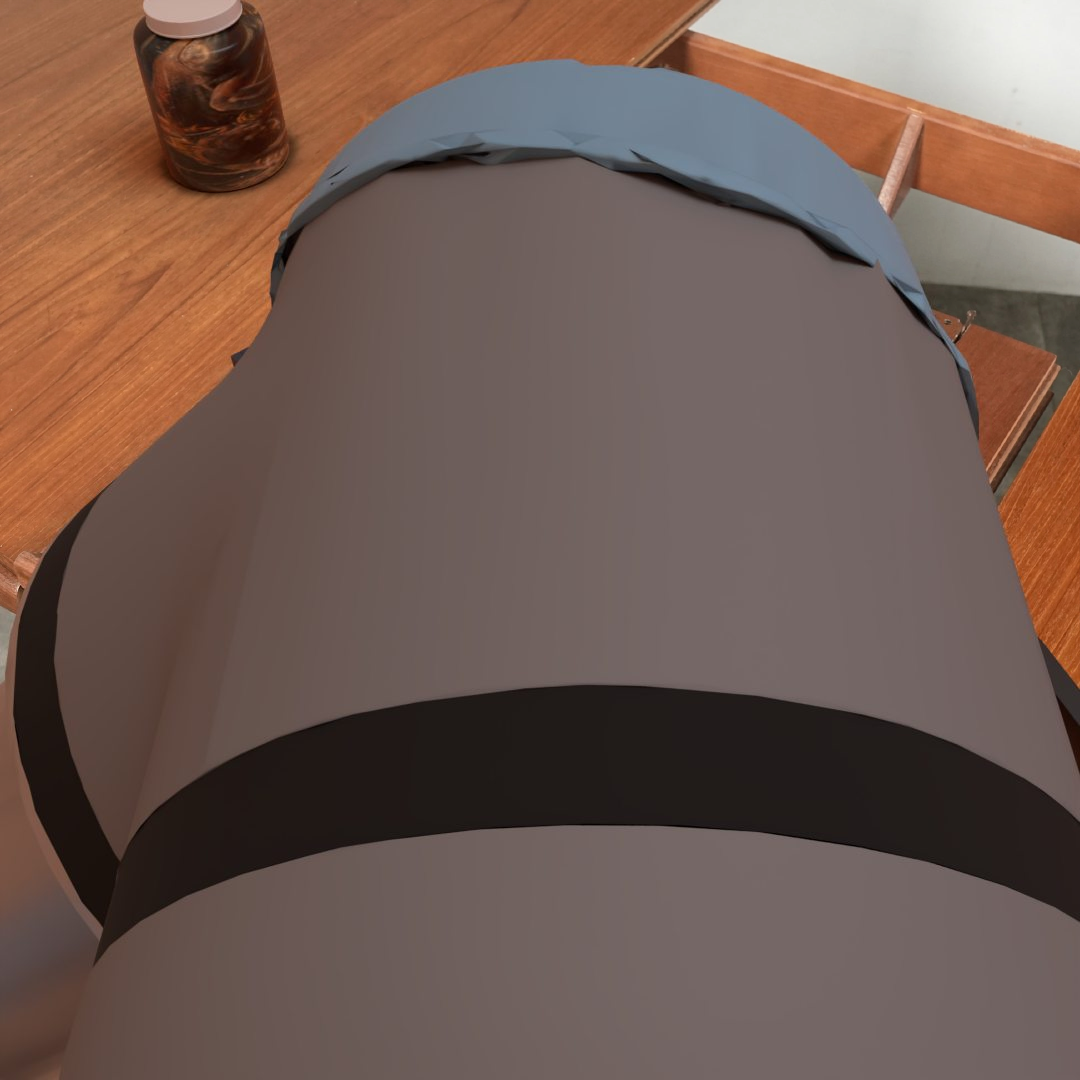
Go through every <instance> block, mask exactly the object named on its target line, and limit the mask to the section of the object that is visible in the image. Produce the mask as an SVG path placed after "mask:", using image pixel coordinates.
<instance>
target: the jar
mask: <svg viewBox="0 0 1080 1080" xmlns="http://www.w3.org/2000/svg"><path fill="white" fill-rule="evenodd" d="M142 9H143V13H144V14H143V15H144V16H142V17H141V18H140V20H139V21H138V22H137V24H136V25H135V27H134V29H133V35H132V40H133V47H134V51H135V52H134V53H135V56H136V62H137V64H138V69H139V72H140V76H141V80H142V83H143V87H144V91H145V95H146V98H147V101H148V105H149V109H150V112H151V115H152V119H153V122H154V123H153V124H154V126H155V130H156V133H157V136H158V140H159V143H160V147H161V150H162V153H163V157H164V160H165V163H166V166H167V169H168V172H169V174H170V175H171V177H172V178H173V179H174V180H175V181H176V182H177V183H179V184H180V185H182V186H183V187H187V188H189V189H192V190H195V191H201V192H210V193H211V192H212V193H213V192H215V193H218V192H220V193H221V192H229V191H237V190H241V189H245V188H248V187H251V186H254V185H257V184H260V183H261V182H263V181H265V180H267V179H269V178H270V177H272V176H273V175H275V174H276V173H277V172H278V171H280V170H281V169H282V168H283V167H284V165H285V164H286V162H287V160H288V158H289V155H290V143H289V137H288V131H287V126H286V121H285V116H284V110H283V106H282V100H281V95H280V91H279V86H278V81H277V75H276V72H275V67H274V62H273V57H272V53H271V49H270V44H269V40H268V36H267V32H266V28H265V24H264V21H263V18H262V16H261V14H260V12H259V11H258V10H257V8H256V7H255V6H253V5H252V4H251V3H249V2H247V1H245V0H143V3H142Z"/></svg>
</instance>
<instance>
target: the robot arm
mask: <svg viewBox="0 0 1080 1080" xmlns="http://www.w3.org/2000/svg"><path fill="white" fill-rule="evenodd" d="M277 240H278V246H277V249H276V251H275V252H274V255H273V260H272V264H271V268H270V286H269V291H268V294H269V297H270V307H271V308H270V310H269V312H268V314H267V316H266V318H265V320H264V322H263V324H262V326H261V327H260V329H259V331H258V332H257V334H256V335H255V337H254V339H253V340H252V342H251V343H250V344H249V346H248V347H249V348H248V349H247V350H246V352H245V353H244V355H243V356H242V357H241V359H240V360H239V361H238V362H237V364H236V365H235V366H234V367H233V366H232V368H231V370H230V371H229V372H228V373H227V374H226V375H225V376H224V377H223V379H222V380H221V381H220V382H219V383H218V384H217V385H216V386H215V387H213V389H211V390H210V391H209V392H208V393H207V394H206V395H205V396H204V397H202V399H200V400H199V401H198V402H197V403H196V404H195V405H194V406H193V407H191V409H189V410H188V411H187V412H186V413H185V414H184V415H183V416H182V417H180V418H179V419H178V420H177V421H176V422H175V423H174V424H172V426H170V427H169V428H168V429H167V430H166V431H165V432H164V433H163V434H162V435H161V436H160V437H158V439H156V440H155V441H154V442H153V443H152V444H151V445H150V446H148V447H147V448H146V449H145V450H144V451H143V452H142V453H141V454H140V455H139V456H138V457H137V458H135V459H134V460H133V461H132V462H131V463H129V465H128V466H126V468H124V469H123V471H121V473H119V474H118V475H117V477H115V478H114V479H112V480H111V482H110V483H108V485H106V486H105V487H104V488H103V489H102V490H100V491H99V492H98V493H97V494H96V495H95V496H94V497H93V498H92V499H90V501H88V502H87V504H85V505H84V506H83V507H82V508H81V509H80V510H78V511H77V513H76V514H75V515H73V517H72V518H71V519H70V520H69V521H67V522H66V524H64V525H63V526H62V528H61V529H60V530H59V531H58V533H56V535H55V537H54V538H53V539H52V541H51V542H50V544H49V545H48V546H47V547H46V549H45V550H44V552H43V553H42V554H41V556H40V557H39V559H38V561H37V563H36V565H35V567H34V569H33V571H32V573H31V575H30V577H29V579H28V581H27V583H26V585H25V587H24V589H23V591H22V594H21V598H20V601H19V603H18V607H17V611H16V613H15V616H14V620H13V624H12V627H11V630H10V634H9V641H8V649H7V655H6V662H5V664H6V665H5V670H4V680H3V681H2V682H1V683H0V1080H1080V688H1079V686H1078V685H1077V683H1076V682H1075V681H1074V680H1073V678H1072V677H1071V676H1070V674H1068V672H1067V671H1066V669H1065V668H1064V666H1062V664H1061V663H1060V662H1059V660H1058V659H1057V658H1056V656H1055V655H1054V654H1053V653H1052V652H1051V651H1050V649H1049V648H1048V646H1047V645H1046V644H1045V642H1043V640H1042V639H1041V638H1040V637H1039V636H1038V635H1037V632H1036V628H1035V625H1034V622H1033V619H1032V616H1031V615H1032V614H1031V611H1030V608H1029V606H1028V602H1027V598H1026V596H1025V593H1024V588H1023V586H1022V582H1021V580H1020V575H1019V573H1018V569H1017V567H1016V563H1015V560H1014V556H1013V553H1012V550H1011V547H1010V544H1009V543H1010V542H1009V540H1008V538H1007V534H1006V530H1005V527H1004V524H1003V521H1002V518H1001V515H1000V511H999V508H998V505H997V502H996V501H997V500H996V498H995V494H994V492H993V488H992V485H991V482H990V478H989V475H988V472H987V468H986V465H985V461H984V457H983V453H982V451H981V447H980V444H979V440H980V412H979V406H978V401H977V394H976V388H975V384H974V380H973V376H972V372H971V368H970V366H969V363H968V361H967V360H966V358H965V357H964V356H963V354H962V353H961V351H960V350H959V348H958V347H957V345H956V344H955V342H954V341H953V340H952V339H951V337H950V336H949V334H948V333H947V332H946V330H945V329H944V327H943V326H942V324H941V322H939V320H938V318H937V317H936V316H935V314H934V312H933V310H932V308H931V305H930V303H929V301H928V298H927V296H926V294H925V291H924V289H923V287H922V284H921V281H920V279H919V276H918V274H917V271H916V268H915V266H914V263H913V261H912V258H911V256H910V252H909V251H908V248H907V246H906V244H905V243H904V240H903V238H902V236H901V235H900V232H899V231H898V229H897V226H896V225H895V224H894V222H893V220H892V218H890V216H889V214H888V213H887V211H886V210H885V208H884V206H883V205H882V204H881V202H880V201H879V199H878V198H877V196H876V195H875V194H874V192H873V191H872V190H871V188H870V187H868V185H867V183H866V182H865V181H864V180H863V179H862V177H860V175H858V173H856V172H855V170H854V169H853V168H852V167H851V166H850V165H849V164H848V163H847V162H846V161H845V160H844V159H843V158H842V157H840V155H838V154H837V153H836V152H835V151H834V150H833V149H831V148H830V147H829V146H828V145H827V144H825V143H824V142H823V141H822V139H821V140H820V138H818V137H817V136H815V135H814V134H813V133H811V132H810V131H809V130H807V129H806V128H805V127H803V126H801V125H800V124H799V123H797V122H796V121H794V120H792V119H791V118H789V117H788V116H786V115H785V114H782V113H781V112H779V111H778V110H776V109H774V108H773V107H771V106H769V105H766V104H765V103H763V102H761V101H759V100H757V99H755V98H753V97H752V96H750V95H748V94H744V93H743V92H740V91H737V90H735V89H732V88H730V87H727V86H725V85H722V84H720V83H718V82H714V81H711V80H708V79H705V78H701V77H698V76H695V75H692V74H688V73H684V72H680V71H676V70H671V69H668V68H663V67H652V68H649V67H641V66H631V65H625V64H624V65H623V64H596V65H593V64H592V65H587V64H585V63H582V62H581V61H578V60H576V59H573V58H557V59H553V58H552V59H541V60H532V61H523V62H517V63H511V64H504V65H499V66H498V65H497V66H492V67H489V68H484V69H481V70H476V71H473V72H469V73H466V74H462V75H460V76H457V77H454V78H451V79H449V80H446V81H443V82H441V83H438V84H436V85H433V86H432V87H430V88H427V89H424V90H422V91H420V92H418V93H416V94H414V95H412V96H410V97H408V98H406V99H404V100H402V101H400V102H399V103H397V104H395V105H394V106H392V107H391V108H389V109H388V110H387V111H385V112H383V113H382V114H381V115H380V116H378V117H377V118H375V119H374V120H372V121H371V122H369V124H367V125H366V126H364V128H362V129H361V130H359V132H357V133H356V134H355V135H354V136H353V137H352V138H351V139H350V140H349V141H348V142H347V143H346V144H345V145H344V146H343V147H342V148H341V149H340V151H338V153H337V154H336V155H335V156H334V157H333V158H332V160H331V161H330V162H329V163H328V164H327V165H326V167H325V168H324V170H323V172H322V173H321V174H320V176H319V177H318V179H317V181H316V182H315V184H314V186H313V187H312V189H311V191H310V193H309V194H308V195H307V196H306V197H305V198H304V199H303V200H301V201H300V202H299V204H298V205H297V207H296V208H295V210H294V211H293V212H292V214H291V217H290V219H289V222H288V224H287V227H285V229H283V230H281V231H280V234H279V235H278V238H277Z"/></svg>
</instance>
